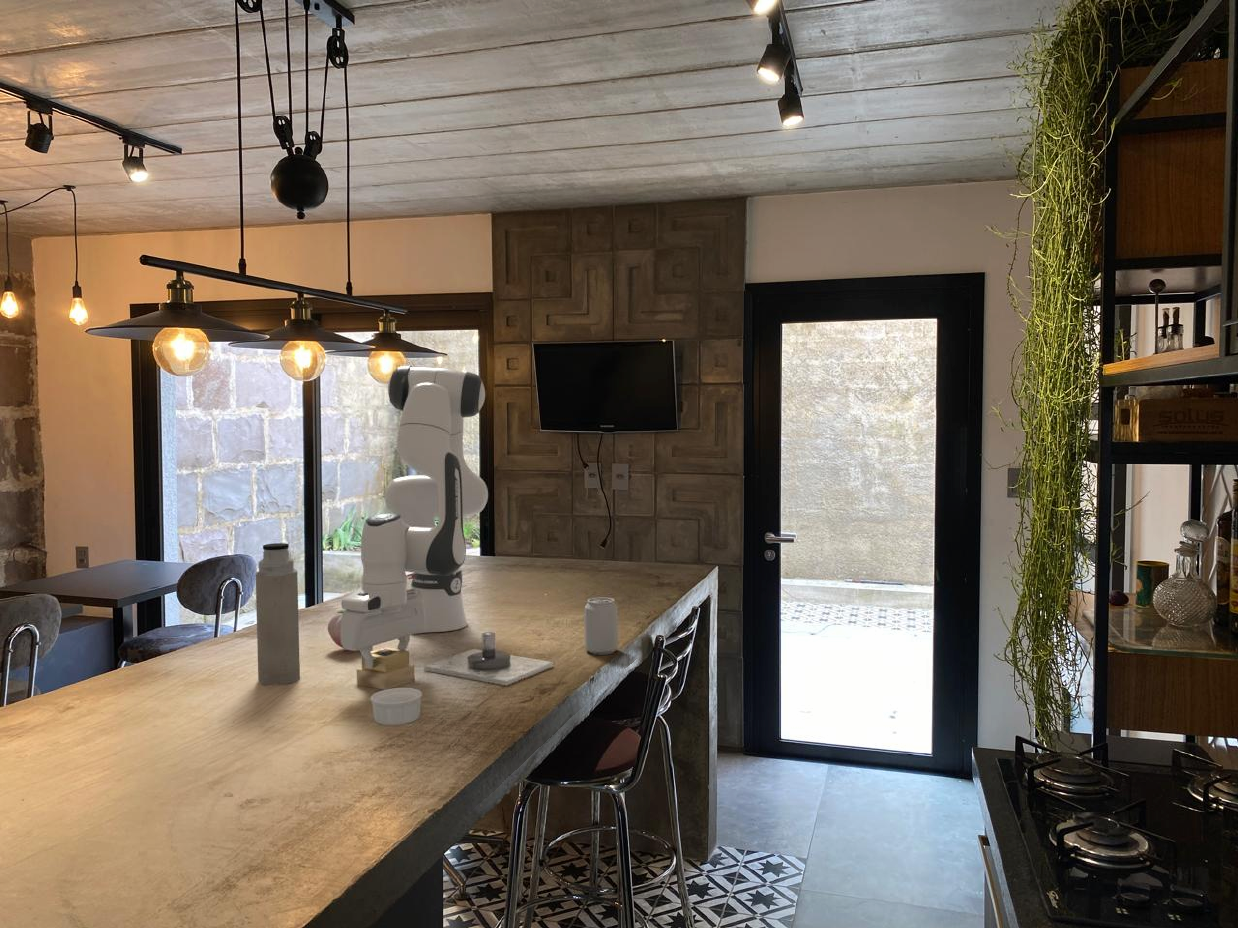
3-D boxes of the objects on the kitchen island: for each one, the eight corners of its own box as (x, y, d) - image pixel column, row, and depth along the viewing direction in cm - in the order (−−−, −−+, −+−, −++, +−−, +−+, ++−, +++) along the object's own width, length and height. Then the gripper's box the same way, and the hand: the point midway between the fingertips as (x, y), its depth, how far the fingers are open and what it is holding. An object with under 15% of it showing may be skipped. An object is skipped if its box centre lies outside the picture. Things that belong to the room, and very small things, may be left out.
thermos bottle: (276, 672, 189) (273, 540, 188) (308, 676, 187) (305, 542, 185) (249, 683, 182) (245, 545, 180) (282, 687, 179) (278, 547, 178)
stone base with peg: (424, 670, 191) (423, 635, 190) (473, 653, 204) (473, 620, 204) (506, 685, 179) (506, 648, 179) (553, 666, 193) (552, 632, 193)
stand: (356, 683, 181) (356, 652, 181) (386, 673, 188) (385, 644, 188) (385, 689, 177) (385, 658, 177) (414, 679, 184) (414, 649, 184)
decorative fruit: (376, 649, 208) (375, 607, 207) (343, 656, 202) (342, 612, 201) (354, 643, 214) (353, 601, 214) (322, 649, 208) (321, 606, 208)
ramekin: (396, 730, 154) (395, 705, 154) (360, 721, 159) (359, 697, 159) (432, 715, 162) (432, 692, 162) (397, 707, 167) (397, 684, 166)
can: (614, 656, 201) (613, 603, 200) (581, 654, 203) (581, 601, 202) (620, 647, 208) (620, 596, 208) (589, 646, 210) (588, 595, 209)
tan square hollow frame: (361, 668, 181) (361, 654, 181) (385, 661, 187) (385, 646, 187) (385, 673, 178) (385, 658, 178) (409, 665, 184) (409, 650, 183)
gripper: (409, 584, 192) (411, 649, 193) (334, 602, 175) (336, 672, 175) (432, 587, 189) (433, 652, 190) (357, 605, 171) (358, 677, 172)
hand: (385, 662), depth 182 cm, fingers closed on tan square hollow frame, 7 cm apart
